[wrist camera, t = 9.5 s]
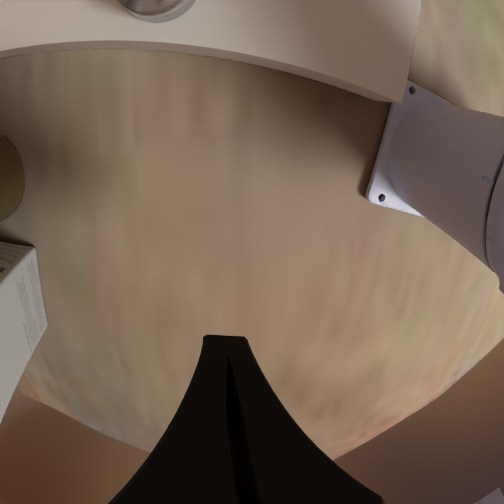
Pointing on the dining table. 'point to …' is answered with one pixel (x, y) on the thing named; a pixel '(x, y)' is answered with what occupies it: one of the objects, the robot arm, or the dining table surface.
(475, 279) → the dining table surface
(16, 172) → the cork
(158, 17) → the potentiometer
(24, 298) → the supplement box
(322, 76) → the block
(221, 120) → the dining table surface
